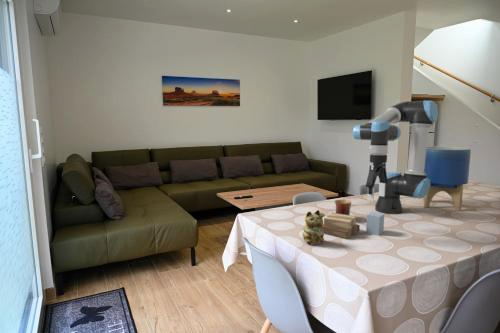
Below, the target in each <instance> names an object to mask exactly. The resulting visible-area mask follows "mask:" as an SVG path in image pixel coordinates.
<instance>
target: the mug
mask: <svg viewBox="0 0 500 333" xmlns="http://www.w3.org/2000/svg"><path fill="white" fill-rule="evenodd" d="M334 204H335V213H338V214H344V215H351V214H350V213H351V206H352V201H351V200H347V199H336V200H335V201H334Z"/></svg>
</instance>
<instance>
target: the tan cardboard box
mask: <svg viewBox="0 0 500 333" xmlns="http://www.w3.org/2000/svg"><path fill="white" fill-rule="evenodd" d="M360 226H361V225H360V224H357V223H356V225H355V226H354V227H353V228H352V229H350V230H349V231H346V230H340V229H334V228H328V227H324V223H323V226H322V227H321V228H320V230H322V231H323V232H324V235H328V236H332V237H335V238H338V239H339V238H340V239H343V240H348V239H349V238H351V237H353V236H355V235H357V234H358V233H360Z"/></svg>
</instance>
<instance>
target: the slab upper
mask: <svg viewBox="0 0 500 333" xmlns="http://www.w3.org/2000/svg"><path fill="white" fill-rule="evenodd" d="M323 224H324V227H328V228H334V229H340V230H346V231H349V230H350V229H352V228H353V227H354V226H355V225H356V224H357V216H356V215H351V214H350V215H344V214H338V213H336V212H331V213H330V214H328V215H327V216H325V217H323Z"/></svg>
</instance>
